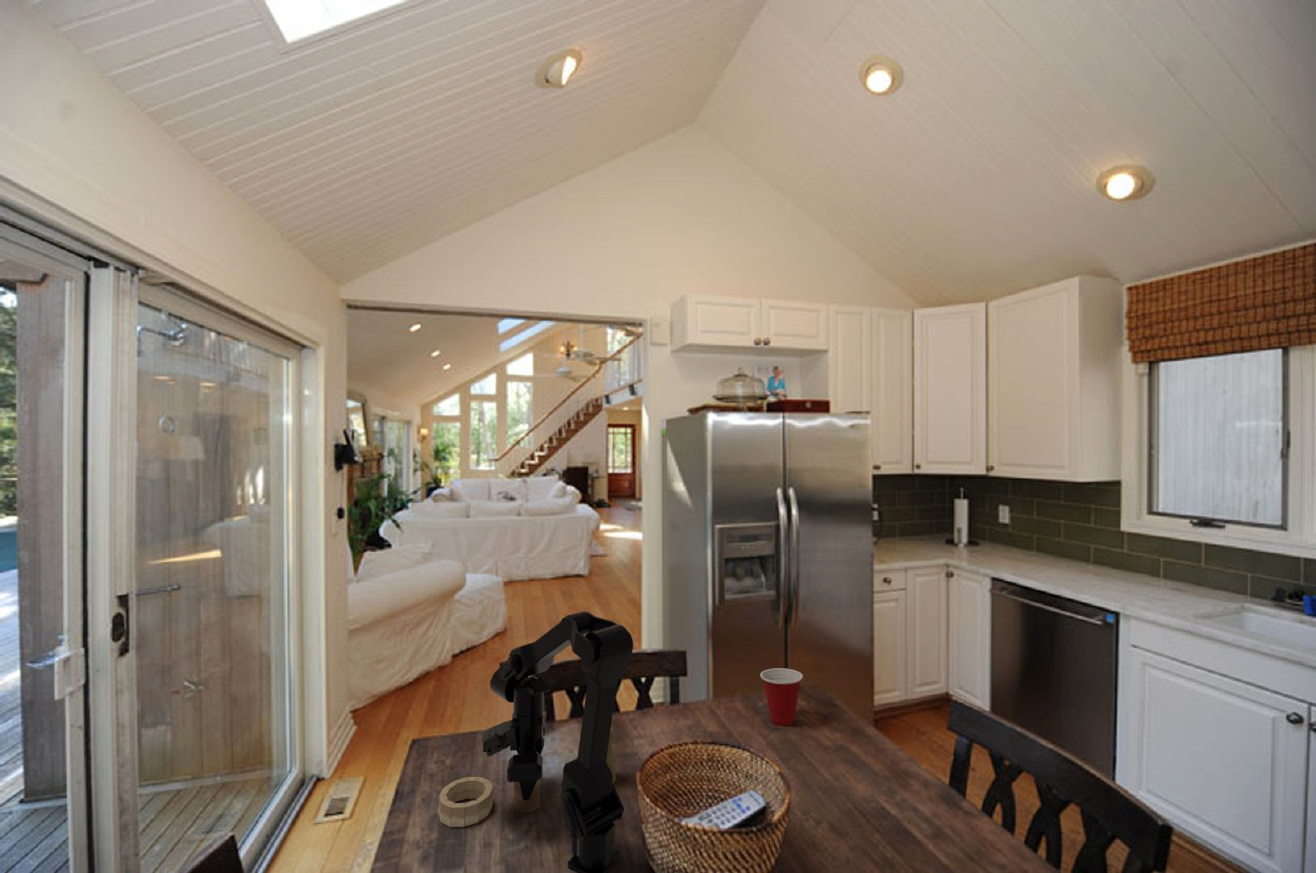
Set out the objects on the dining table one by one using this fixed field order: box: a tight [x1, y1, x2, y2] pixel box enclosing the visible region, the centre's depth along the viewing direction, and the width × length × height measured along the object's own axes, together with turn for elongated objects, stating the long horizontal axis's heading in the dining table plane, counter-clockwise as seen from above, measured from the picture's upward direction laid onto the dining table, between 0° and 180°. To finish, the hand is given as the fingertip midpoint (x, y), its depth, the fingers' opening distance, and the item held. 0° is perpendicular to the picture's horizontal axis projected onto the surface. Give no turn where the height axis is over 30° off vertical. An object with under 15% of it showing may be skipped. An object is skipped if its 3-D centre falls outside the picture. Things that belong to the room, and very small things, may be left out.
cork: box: [607, 725, 617, 785], centre depth 116 cm, size 6×6×11 cm
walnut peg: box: [513, 751, 541, 814], centre depth 107 cm, size 5×5×9 cm
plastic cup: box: [759, 667, 804, 727], centre depth 142 cm, size 11×11×12 cm
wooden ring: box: [438, 776, 494, 828], centre depth 105 cm, size 9×9×4 cm
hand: (527, 791), depth 107 cm, fingers closed on walnut peg, 5 cm apart
